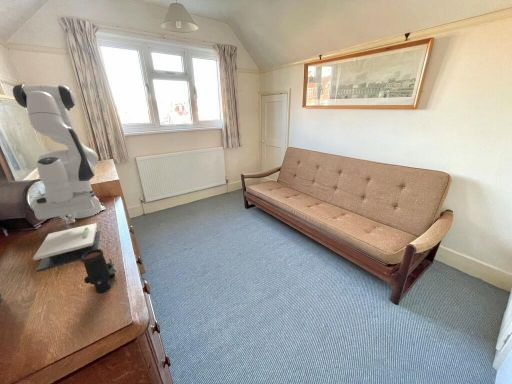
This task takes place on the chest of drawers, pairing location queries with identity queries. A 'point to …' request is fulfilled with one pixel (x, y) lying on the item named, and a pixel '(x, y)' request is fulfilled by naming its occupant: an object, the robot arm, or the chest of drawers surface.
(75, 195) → the robot arm
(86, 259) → the scope
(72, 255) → the stage base
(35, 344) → the chest of drawers surface
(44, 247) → the panel
